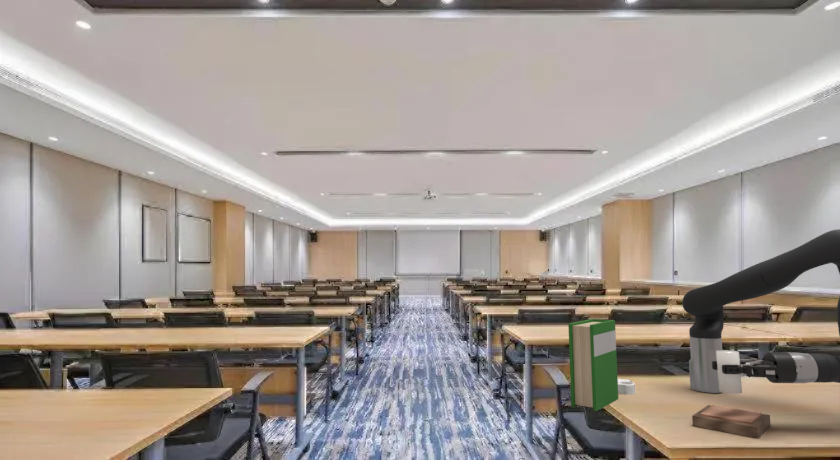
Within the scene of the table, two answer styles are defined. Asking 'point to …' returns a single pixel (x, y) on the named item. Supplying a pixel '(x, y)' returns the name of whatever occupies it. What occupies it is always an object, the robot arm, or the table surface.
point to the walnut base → (732, 420)
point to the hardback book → (593, 363)
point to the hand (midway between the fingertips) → (717, 367)
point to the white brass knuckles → (626, 386)
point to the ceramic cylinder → (728, 381)
